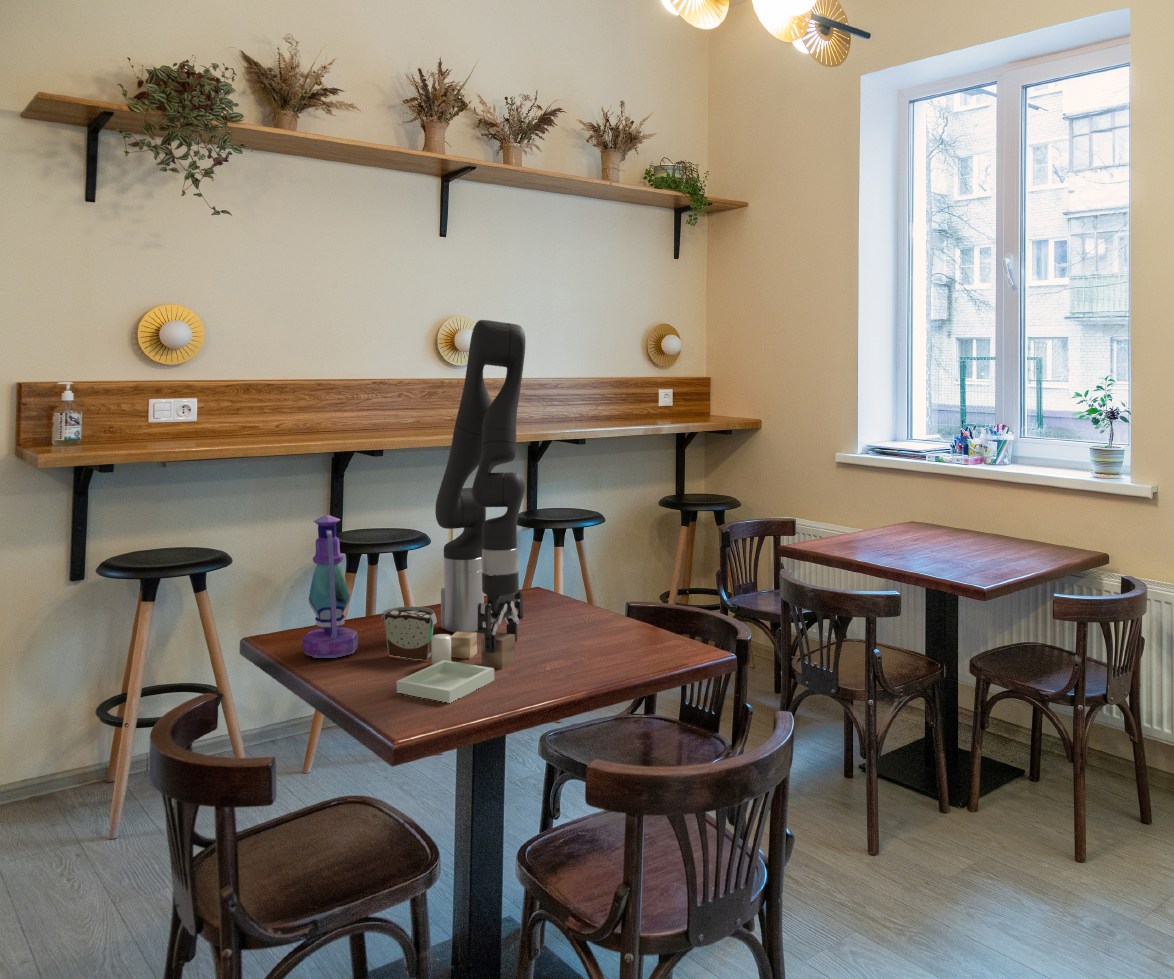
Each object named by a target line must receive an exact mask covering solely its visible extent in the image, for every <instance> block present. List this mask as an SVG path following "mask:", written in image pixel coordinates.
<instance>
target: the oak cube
mask: <svg viewBox="0 0 1174 979" xmlns="http://www.w3.org/2000/svg"><path fill="white" fill-rule="evenodd" d="M450 636H451V657H459V658H458V659H467V658H469V660H470V658H471V657H472V658H473V657H474V656H475V655H477V653H478V632H453V634H452V635H450ZM472 658H471V659H472Z"/></svg>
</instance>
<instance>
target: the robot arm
mask: <svg viewBox="0 0 1174 979" xmlns="http://www.w3.org/2000/svg"><path fill="white" fill-rule="evenodd" d="M467 355H468V356H467V365H466V371H465V376H464V384H463V389H462V394H461V398H460V401H459V402H460V403H459V407H458V411H457V414H456V419H455V423H454V427H453V428H454V429H453V434H452V439H451V446H450V450H449V455H448V460H447V464H446V468H445V471H444V474H443V477H442V480H441V483H440V487H439V490H438V493H437V496H436V501H435V511H434V512H435V520H436V522H437V524H438V526H439V527H440V528H442V529H447V530H448V529H449V530H454V529H455V530H456V529H462V528H463V531H462V532H461V534H459V535H458V537H456V538H455V539H452V540H451V541H449V542H447V543H446V544H444V546H443V577H444V578H443V584H444V586H443V587H442V588H441V589H440V622H441V625H440V626H441V629H444V630H445V631H448V632H451V633H456V632H474V633H476V632H477V634H483V636H485V651H486V652H487V653H494V652H496V635H495V633H496V632H497V630H498V627H499V626H500V625H501V624H502V621H503V620H505V622H506V623H507V624H506V633H508V634H515V643H517V642H518V626H519V624H520V620H523V619H524V602H523V592H522V591H519V590H520V584H519V583H520V582H519V581H520V580H519V556H518V555H519V554H518V548H517V547H518V544H517V543H518V541H517V540H518V539H517V537H518V535H517V532H518V528H517V526H518V518H519V514H520V509H521V506H522V502H523V498H524V495H525V491H526V490H525V488H526V485H525V481H524V479H523V477H522V476H521V475H520V474H519V473H517V472H509V471H507V472H492V471H493V469H494V468H496V467H497V466H499V465H500V466H501V465H503V464H507V463H510V462H513V461H514V460H515V458H516V456H517V416H518V409H519V408H518V406H519V402H520V401H519V400H520V393H521V388H522V379H523V373H524V372H523V371H524V363H525V357H526V333H525V330H524V328H523V327H522V326H521V325H519V324H517V323H516V324H515V323H509V322H503V321H495V320H487V319H479V320H478V321H477V322H476V323H475V325H474V326H473V329H472V332H471V337H470V342H469V348H468V354H467ZM486 365H487V366H494V367H501V368H502V367H503V368H506V375H505V380H504V381H503V385H502V387H501V389H500V390H499V392H498V394H496V396H495V398H494V399H493V400H492V398H491V396H490V395H489V391H488V390H487V386H486V383H485V380H484V367H485V366H486ZM476 469H477V471H476V474H475V477H474V480H473V483H472V487H464V486H465V483H466V481H467V480H468V479H469V477H470V475H471V474H472V473H473V472H474V471H475V470H476ZM487 508H507V509H506V512H505V513H504V514H502V515H501V516H498V517H492V518H489V519H487ZM485 595H486V597H487V599H486V603H485ZM517 609H518V611H517Z"/></svg>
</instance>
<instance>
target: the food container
mask: <svg viewBox="0 0 1174 979" xmlns="http://www.w3.org/2000/svg"><path fill="white" fill-rule="evenodd" d="M380 620H381V621H384V623H383V624H384V630H385V640H386V646H387V654H388V655H393V656H400V657H406V658H412V659H422V660H429V659H430V658H431V659H432V645H431V637H432V636H433V635H434V625H436V624H437V616H436V613H435V611H434V610H433V609H432V608H428V607H425V606H424V607H423V606H398V607H392V608H388V609H384V610H383V612H382V614H381V619H380ZM431 659H430V660H431ZM430 660H429V661H430Z"/></svg>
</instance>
